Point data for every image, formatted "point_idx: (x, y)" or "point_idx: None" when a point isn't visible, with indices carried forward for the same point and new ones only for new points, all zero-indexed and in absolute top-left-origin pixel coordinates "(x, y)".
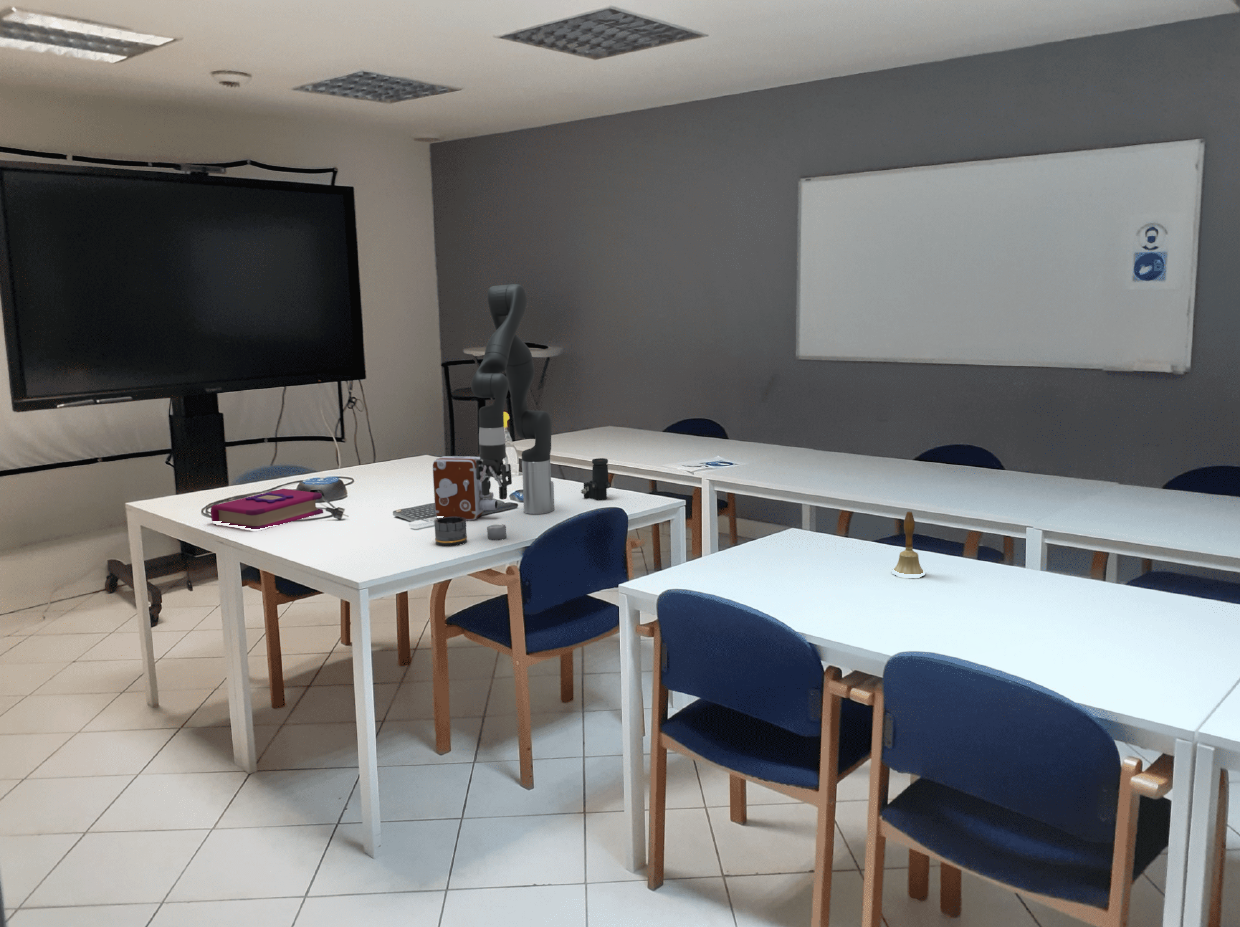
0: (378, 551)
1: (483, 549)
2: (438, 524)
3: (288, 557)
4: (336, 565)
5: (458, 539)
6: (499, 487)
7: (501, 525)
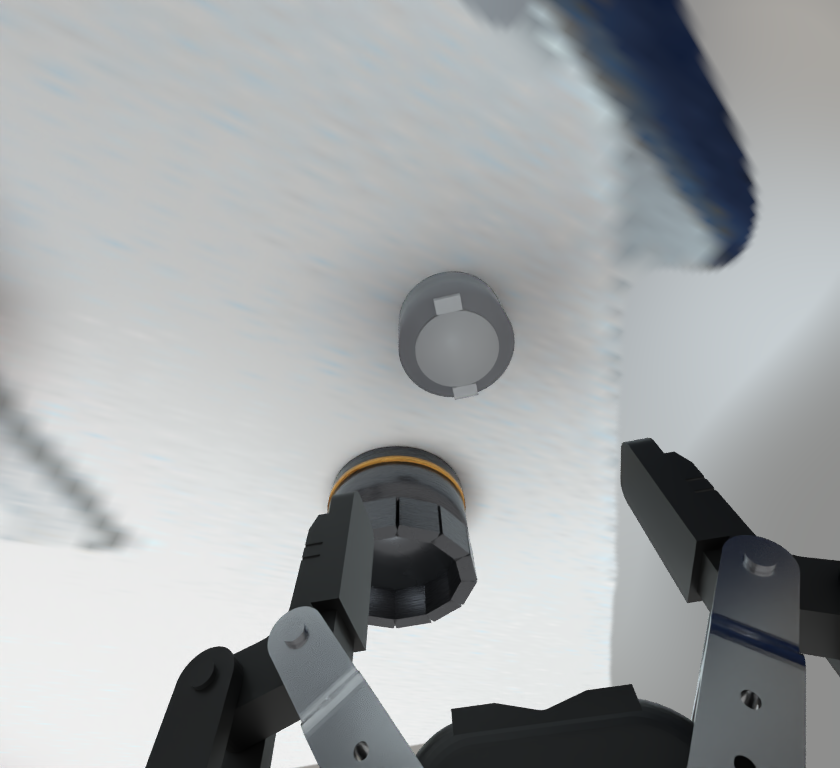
0: (374, 657)
1: (591, 439)
2: (425, 619)
3: (312, 762)
4: (445, 721)
5: (464, 508)
6: (695, 595)
7: (457, 319)
